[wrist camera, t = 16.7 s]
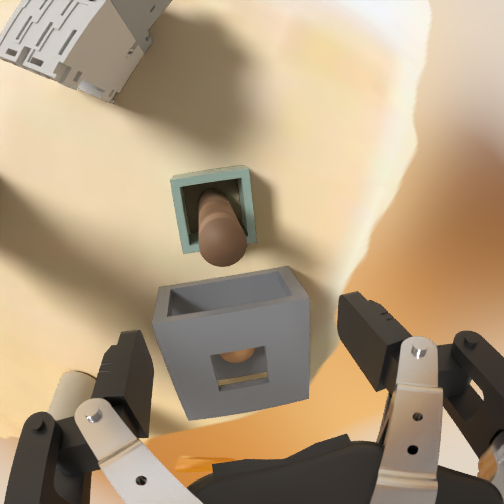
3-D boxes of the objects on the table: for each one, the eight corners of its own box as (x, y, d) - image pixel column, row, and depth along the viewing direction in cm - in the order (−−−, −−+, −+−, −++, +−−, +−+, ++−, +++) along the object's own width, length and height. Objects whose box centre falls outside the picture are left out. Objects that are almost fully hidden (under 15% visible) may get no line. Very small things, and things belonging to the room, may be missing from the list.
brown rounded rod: (200, 218, 33) (203, 270, 20) (196, 190, 32) (195, 225, 19) (229, 214, 34) (249, 262, 21) (225, 186, 33) (244, 217, 20)
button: (219, 350, 39) (221, 365, 36) (214, 324, 37) (215, 338, 34) (252, 344, 39) (256, 359, 37) (248, 318, 38) (252, 332, 35)
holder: (184, 241, 34) (183, 254, 30) (173, 175, 31) (170, 180, 27) (250, 230, 35) (256, 242, 31) (243, 165, 32) (248, 168, 28)
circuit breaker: (184, 2, 24) (180, -74, 10) (113, 103, 27) (52, 81, 13) (132, -18, 21) (103, -88, 8) (63, 81, 25) (-12, 56, 11)
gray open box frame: (187, 379, 41) (188, 420, 34) (159, 287, 35) (151, 324, 28) (292, 361, 43) (308, 398, 36) (288, 265, 37) (309, 297, 30)
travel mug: (54, 382, 38) (23, 467, 22) (74, 362, 37) (41, 457, 21) (90, 408, 41) (72, 494, 25) (114, 391, 40) (97, 487, 24)
